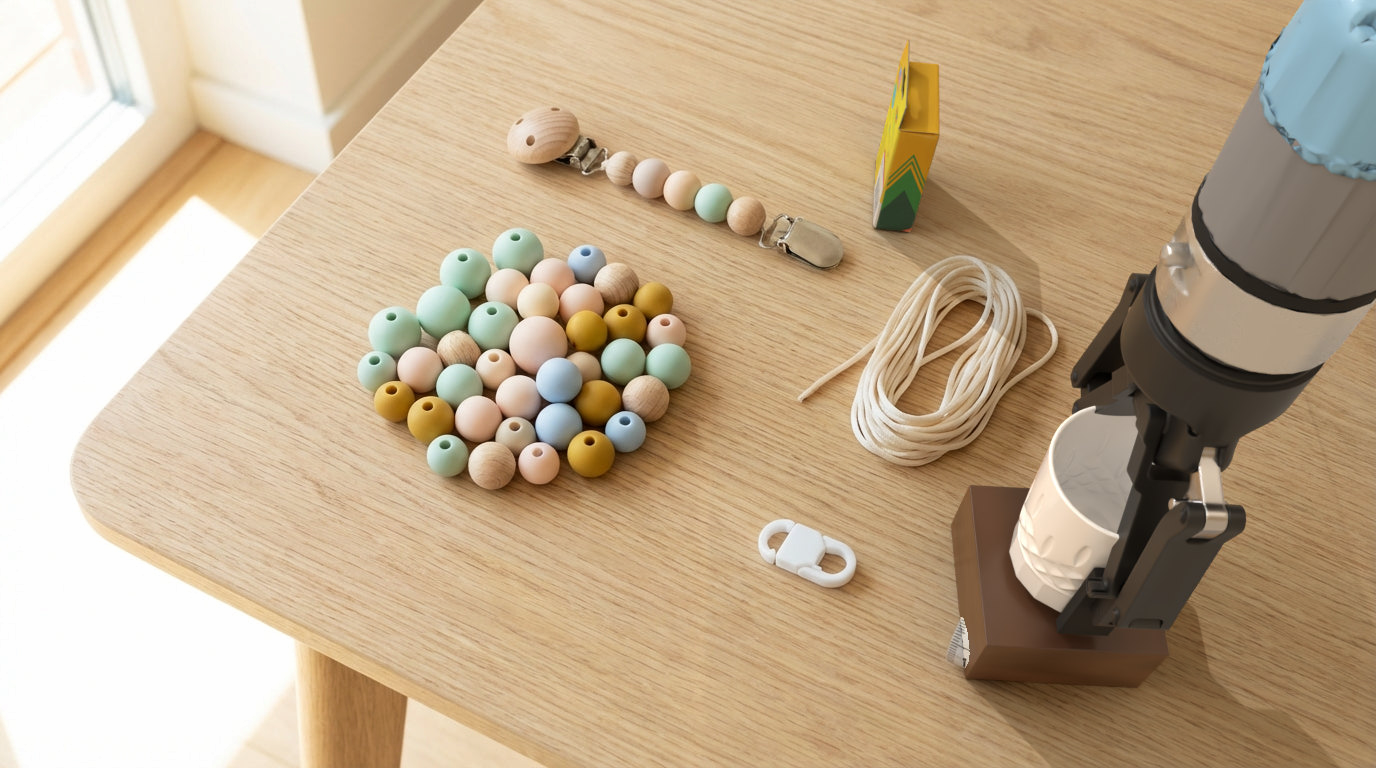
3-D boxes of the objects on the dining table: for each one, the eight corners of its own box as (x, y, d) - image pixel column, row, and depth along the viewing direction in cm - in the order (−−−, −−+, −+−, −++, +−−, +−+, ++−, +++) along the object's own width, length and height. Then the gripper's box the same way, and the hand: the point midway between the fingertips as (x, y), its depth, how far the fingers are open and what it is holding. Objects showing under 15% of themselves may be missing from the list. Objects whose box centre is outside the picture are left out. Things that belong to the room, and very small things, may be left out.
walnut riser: (1110, 532, 76) (1138, 493, 72) (1138, 688, 70) (1170, 655, 66) (950, 524, 76) (969, 484, 71) (964, 679, 70) (986, 645, 66)
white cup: (1169, 582, 68) (1245, 494, 59) (1063, 652, 65) (1127, 571, 57) (1073, 476, 71) (1132, 379, 63) (969, 538, 69) (1016, 446, 60)
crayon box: (912, 234, 89) (946, 116, 79) (871, 230, 89) (901, 110, 79) (914, 162, 93) (946, 41, 83) (875, 157, 93) (903, 36, 84)
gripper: (1110, 122, 55) (985, 402, 74) (1200, 527, 43) (1025, 736, 62) (1275, 132, 55) (1109, 409, 74) (1409, 539, 43) (1171, 743, 62)
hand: (1071, 558), depth 68 cm, fingers closed on white cup, 7 cm apart
